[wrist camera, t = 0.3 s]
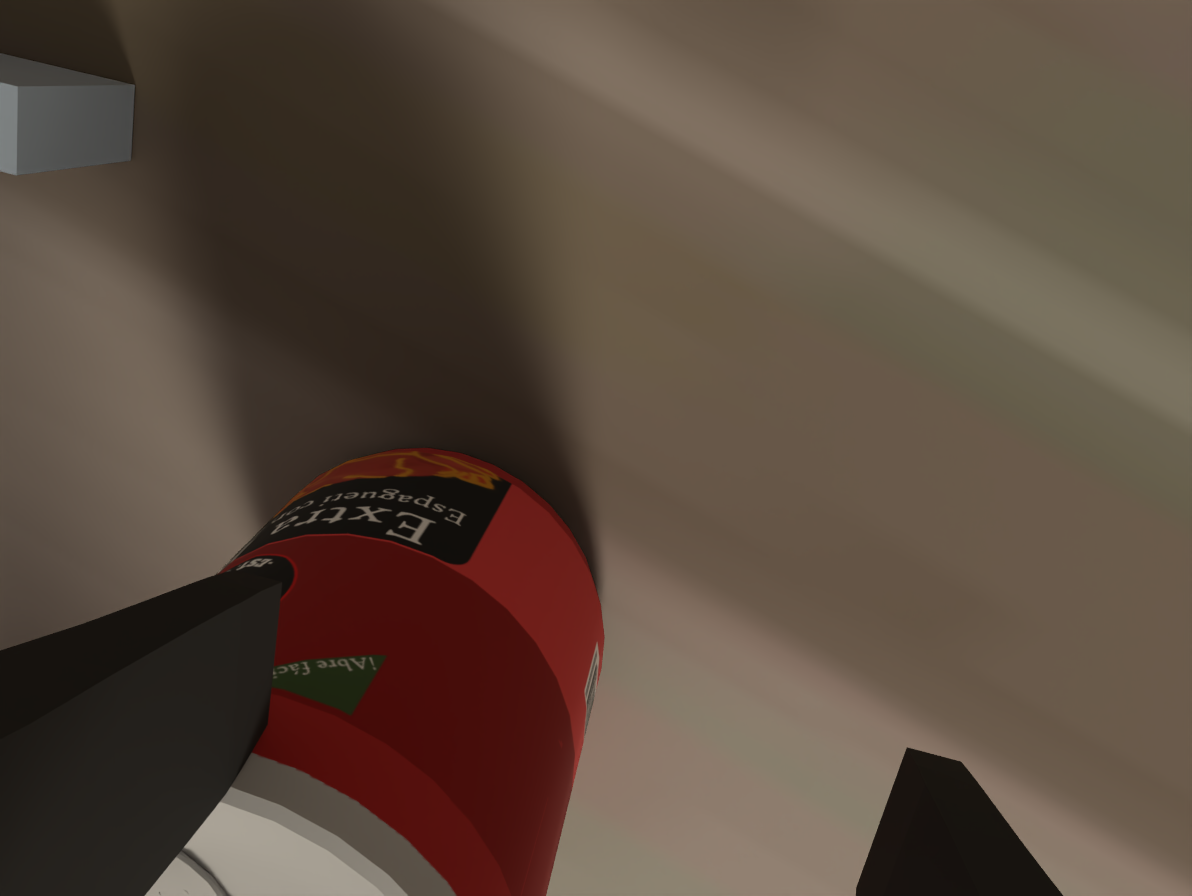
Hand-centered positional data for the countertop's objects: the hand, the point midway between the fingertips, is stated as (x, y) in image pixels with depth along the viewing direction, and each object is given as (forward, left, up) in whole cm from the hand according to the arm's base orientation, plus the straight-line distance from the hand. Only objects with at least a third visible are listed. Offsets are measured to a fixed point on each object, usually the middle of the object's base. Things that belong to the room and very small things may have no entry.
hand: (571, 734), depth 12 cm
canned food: (-5, +4, -10) cm, 12 cm away
